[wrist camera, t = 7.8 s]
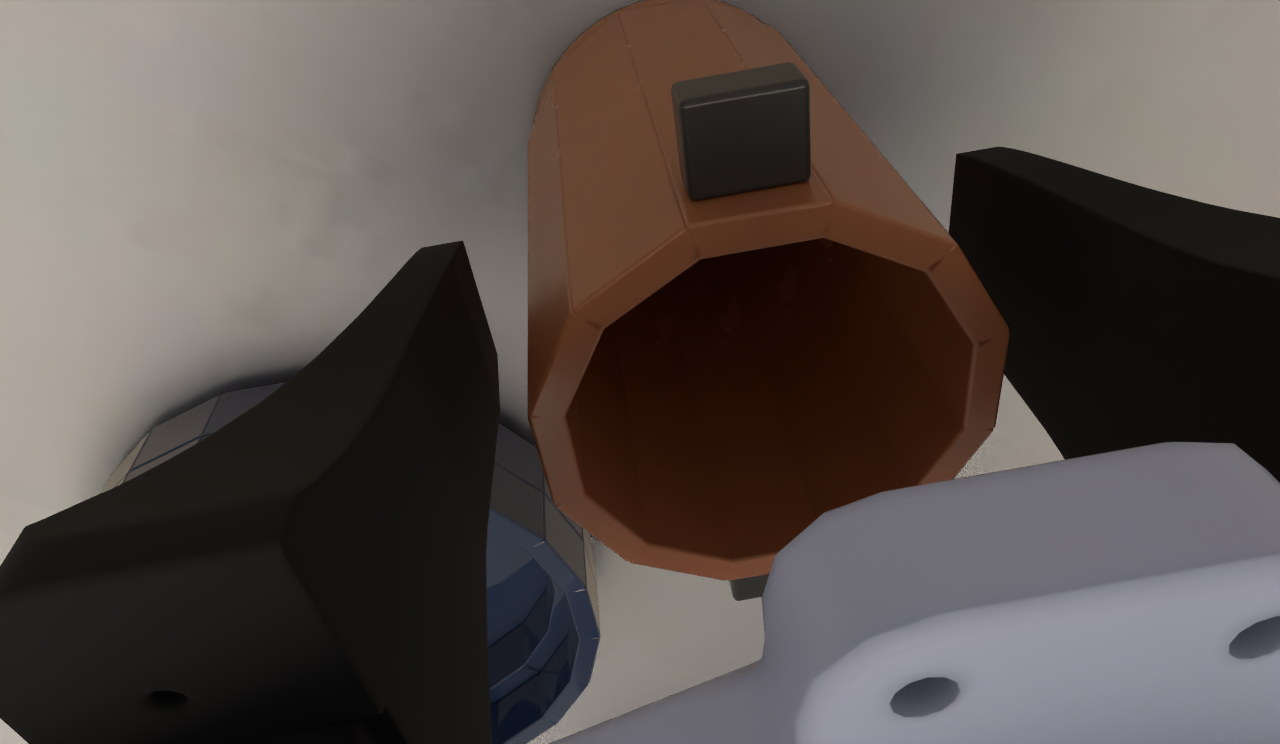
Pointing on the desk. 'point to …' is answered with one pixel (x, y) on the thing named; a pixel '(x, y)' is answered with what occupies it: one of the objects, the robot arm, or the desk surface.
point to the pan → (515, 572)
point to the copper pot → (734, 299)
